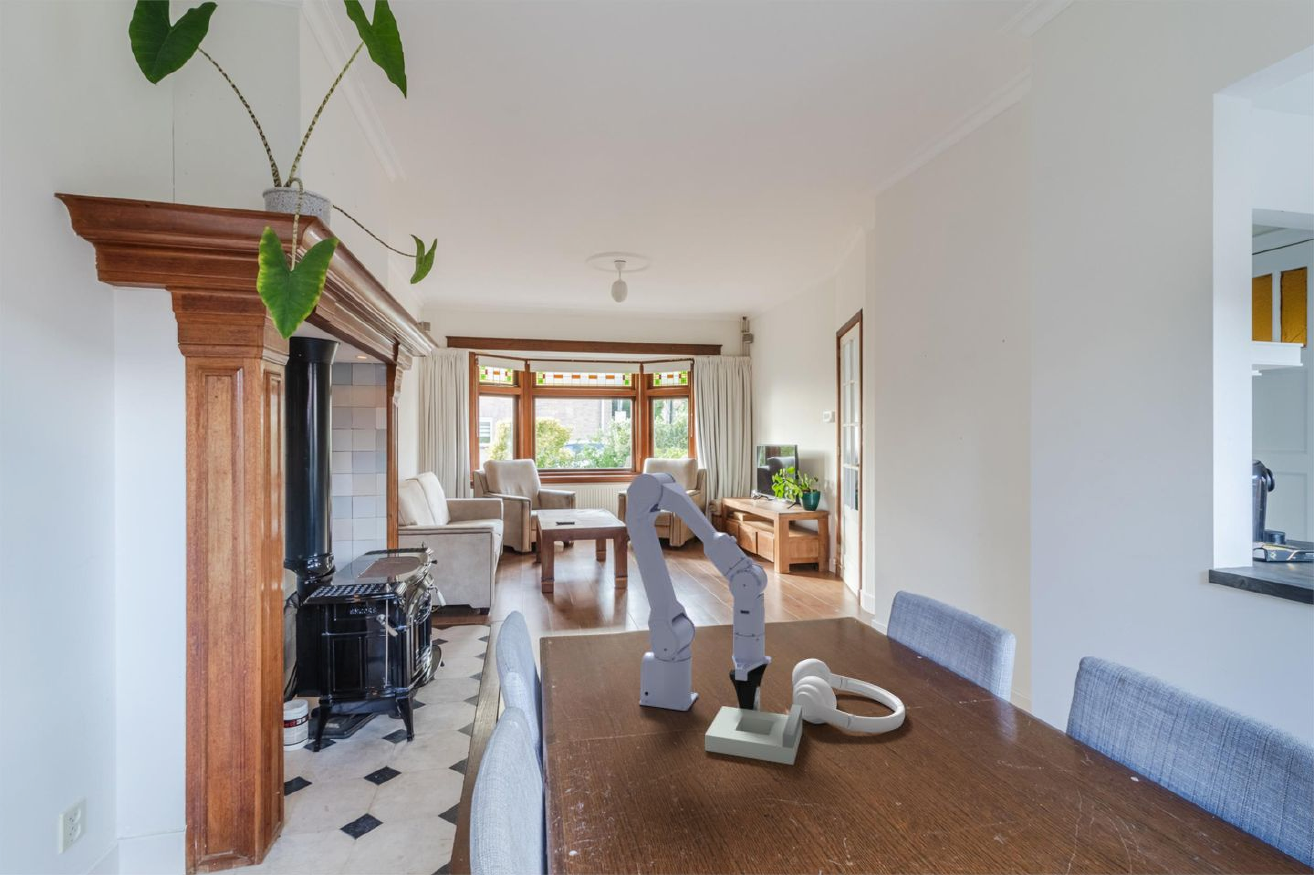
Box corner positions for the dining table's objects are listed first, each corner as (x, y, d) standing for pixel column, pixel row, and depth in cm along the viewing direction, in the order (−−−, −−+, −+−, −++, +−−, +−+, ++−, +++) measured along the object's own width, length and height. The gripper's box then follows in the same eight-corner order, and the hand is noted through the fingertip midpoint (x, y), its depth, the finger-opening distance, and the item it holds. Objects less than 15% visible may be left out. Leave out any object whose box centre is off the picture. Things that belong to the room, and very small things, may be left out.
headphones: (790, 729, 109) (913, 752, 105) (795, 683, 109) (918, 705, 105) (790, 687, 128) (893, 705, 124) (794, 648, 128) (897, 665, 124)
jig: (705, 750, 102) (705, 722, 102) (722, 720, 113) (722, 694, 113) (793, 764, 97) (793, 735, 97) (802, 731, 109) (802, 705, 109)
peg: (735, 717, 114) (735, 689, 115) (740, 708, 118) (740, 681, 118) (757, 720, 113) (757, 692, 113) (761, 711, 117) (761, 684, 117)
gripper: (763, 645, 108) (764, 726, 108) (776, 623, 121) (777, 694, 121) (723, 641, 110) (723, 720, 110) (740, 620, 124) (740, 690, 124)
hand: (748, 706), depth 116 cm, fingers closed on peg, 4 cm apart
